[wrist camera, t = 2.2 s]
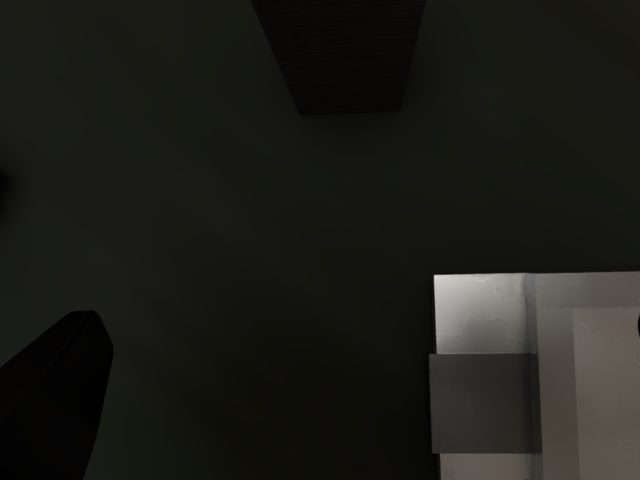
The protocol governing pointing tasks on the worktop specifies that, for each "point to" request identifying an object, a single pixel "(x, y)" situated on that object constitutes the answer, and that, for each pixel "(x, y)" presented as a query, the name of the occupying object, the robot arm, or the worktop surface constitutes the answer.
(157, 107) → the worktop surface
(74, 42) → the worktop surface
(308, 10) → the grey rectangular block
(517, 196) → the worktop surface
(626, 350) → the grey tray
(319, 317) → the worktop surface
